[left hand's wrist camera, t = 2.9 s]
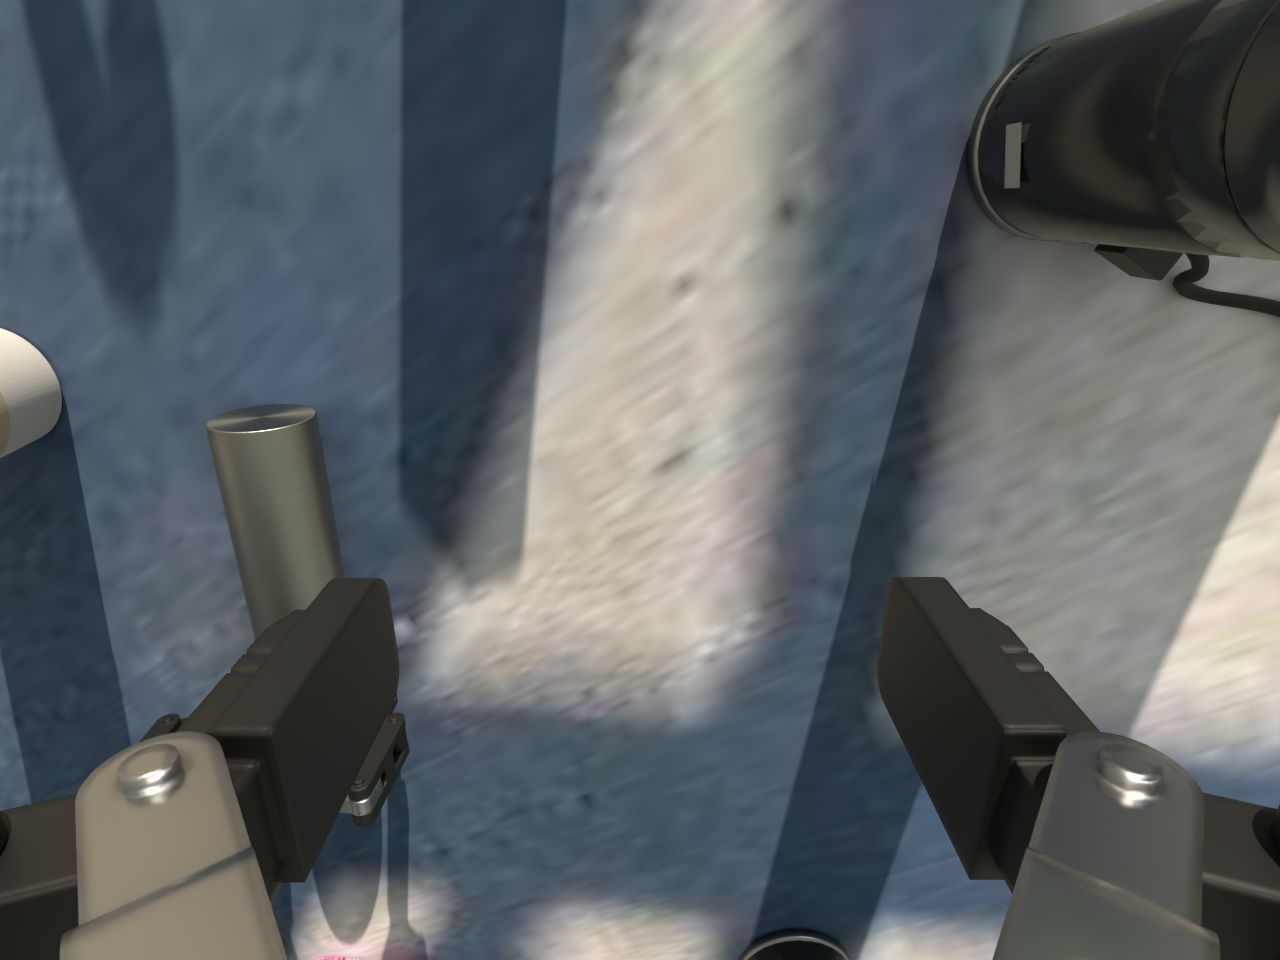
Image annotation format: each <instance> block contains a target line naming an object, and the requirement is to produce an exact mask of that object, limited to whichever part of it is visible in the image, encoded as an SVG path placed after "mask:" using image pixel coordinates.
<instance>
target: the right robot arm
mask: <svg viewBox="0 0 1280 960" xmlns="http://www.w3.org/2000/svg"><path fill="white" fill-rule="evenodd" d="M397 702H398V700H397V693H396V696H395V699H394V701H393V704H392V706H391V708H390V710H389V712H388V714H387V716H386V718H385V720H384V722H383V724H382V726H381V728H380V730H379V732H378V734H377V736H376V738H375V740H374V742H373V745H372V747H371V749H370V751H369V753H368V755H367V757H366V759H365V761H364V763H363V765H362V767H361V769H360V771H359V773H358V775H357V777H356V779H355V781H354V783H353V785H352V787H351V789H350V791H349V793H348V795H347V797H346V799H345V801H344V804H343V806H342V808H341V810H340V812H339V813H351V814H352V817H353V822H354V824H355V825H357V826H361V827H362V826H367V825H369V824H371V823H373V822H374V821H375V819H376V818H377V816H378V814H379V812H380V810H381V808H382V806H383V804H384V802H385V800H386V798H387V796H388V794H389V792H390V790H391V788H392V786H393V784H394V782H395V780H396V778H397V776H398V774H399V772H400V770H401V768H402V766H403V764H404V762H405V760H406V758H407V756H408V754H409V744H408V742H407V736H406V729H405V717H404V715H403V714H401V713H392V712H393V711H394V708H395V706H396V704H397ZM186 719H187V718H184V719H180V717H179V715H178V714H168V715H165V716H163V717H161V718H160V719H158V720H157V721H156V723H155V724H154V725H153V726H152V727H151V729H150V730H149V731H148V732H147V733H146V735H145V736H144V737H143V738H142V739H141V741H140V742H142V741H144V740H147V739H150V738H153V737H156V736H160V735H164V734H169V733H175V732H176V731H177V730H178V729H179V727H180V726H181V725H182V724H183V723H184V722H185V721H186ZM281 884H282V882H270V883H269V884H268V886H267V888H266V891H267V894H268V897H269V900H270V904H271V903H272V901H273V899H274V898H275V896H276V894H277V892H278V890H279V888H280V886H281ZM739 960H849V957H848V955H847V953H846V951H845V950H844V949H843V947H842V946H841V945H840V944H838V943H837V942H836V941H834V940H833V939H831V938H829V937H827V936H825V935H822V934H819V933H815V932H810V931H785V932H779V933H775V934H772V935H769V936H766V937H764V938H762V939H760V940H758V941H756V942H755V943H753V944H752V945H751V946H749V947H748V948H747V949H746V950H745V951H744V953H743V954H742V955H741V957H740V958H739Z"/></svg>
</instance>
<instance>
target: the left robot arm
mask: <svg viewBox="0 0 1280 960" xmlns="http://www.w3.org/2000/svg"><path fill="white" fill-rule="evenodd" d="M968 173H969V179H970V183H971V187H972V190H973V193H974V195H975V197H976V199H977V202H978V203H979V205H980V207H981V208H982V210H983V211H984V212H985V214H986V215H987V216H988V217H989V218H990V219H991V220H992V221H993V222H994V223H995V224H996V225H998V226H999V227H1000V228H1002V229H1004V230H1005V231H1007V232H1009V233H1011V234H1014V235H1016V236H1019V237H1022V238H1027V239H1034V240H1044V241H1060V240H1066V241H1073V242H1082V243H1086V244H1096V245H1097V247H1096V248H1095V249H1094V251H1095V252H1097V253H1098V254H1100V255H1101V256H1103V257H1104V258H1105V259H1107V260H1108V261H1110V262H1111V263H1113V264H1114V265H1116V266H1117V267H1118V268H1120V269H1121V270H1123V271H1124V272H1126V273H1127V274H1128V275H1130V276H1135V277H1141V278H1148V279H1154V280H1162V279H1163V278H1164V276H1165V275H1166V274H1167V273H1168V272H1169V270H1170V269H1171V268H1172V267H1173V265H1174V264H1175V263H1176V262H1177V261H1178V259H1179V258H1180V257H1181V256H1182V254H1183V253H1185V254H1186V255H1187V257H1188V258H1189V260H1190V262H1191V266H1192V268H1191V269H1189V270H1187V271H1184V272H1182V273H1180V274H1179V275H1177V276H1176V277H1175V278H1174V281H1173V286H1174V287H1175V288H1176V290H1177V291H1178V292H1179V294H1181V295H1183V296H1184V297H1186V298H1189V299H1193V300H1196V301H1200V302H1205V303H1210V304H1217V305H1223V306H1230V307H1237V308H1243V309H1249V310H1254V311H1259V312H1263V313H1268V314H1271V315H1274V316H1278V317H1280V302H1278V301H1274V300H1269V299H1265V298H1260V297H1253V296H1247V295H1241V294H1233V293H1227V292H1218V291H1214V290H1209V289H1205V288H1202V287H1198V286H1196V285H1194V284H1193V283H1194V282H1196V281H1198V280H1200V279H1201V278H1203V277H1204V276H1205V275H1206V274H1207V272H1208V269H1209V257H1208V255H1220V256H1230V257H1245V258H1256V259H1267V260H1277V261H1280V0H1164V1H1162V2H1159V3H1156V4H1154V5H1151V6H1148V7H1146V8H1143V9H1141V10H1138V11H1135V12H1133V13H1130V14H1127V15H1125V16H1122V17H1120V18H1117V19H1114V20H1112V21H1109V22H1106V23H1104V24H1101V25H1098V26H1096V27H1093V28H1091V29H1088V30H1086V31H1083V32H1080V33H1074V34H1070V35H1066V36H1064V37H1061V38H1058V39H1055V40H1053V41H1050V42H1047V43H1045V44H1043V45H1041V46H1039V47H1037V48H1035V49H1033V50H1031V51H1030V52H1028V53H1026V54H1025V55H1024V56H1022V57H1021V58H1019V59H1018V60H1017V61H1016V62H1014V63H1013V64H1012V65H1011V66H1010V67H1009V68H1008V69H1007V70H1006V71H1005V72H1004V73H1003V74H1002V75H1001V76H1000V77H999V79H998V80H997V81H996V82H995V83H994V85H993V86H992V88H991V89H990V90H989V92H988V94H987V95H986V97H985V98H984V100H983V102H982V104H981V106H980V108H979V110H978V113H977V115H976V118H975V120H974V123H973V127H972V130H971V134H970V139H969V146H968ZM877 675H878V684H879V689H880V693H881V696H882V699H883V702H884V704H885V706H886V708H887V710H888V712H889V714H890V716H891V718H892V720H893V722H894V724H895V726H896V729H897V731H898V733H899V735H900V737H901V739H902V741H903V743H904V745H905V747H906V749H907V751H908V753H909V755H910V757H911V759H912V761H913V764H914V766H915V768H916V770H917V772H918V774H919V776H920V778H921V780H922V782H923V784H924V786H925V788H926V790H927V792H928V794H929V797H930V799H931V801H932V803H933V805H934V807H935V809H936V811H937V813H938V815H939V817H940V819H941V821H942V823H943V825H944V827H945V829H946V832H947V834H948V836H949V838H950V840H951V842H952V844H953V846H954V848H955V850H956V852H957V854H958V856H959V858H960V860H961V862H962V864H963V867H964V869H965V871H966V873H967V875H968V877H969V879H970V880H1005V881H1006V883H1007V885H1008V887H1009V889H1010V891H1011V893H1012V897H1011V900H1010V904H1009V907H1008V910H1007V914H1006V917H1005V920H1004V924H1003V927H1002V930H1001V933H1000V937H999V940H998V943H997V947H996V950H995V953H994V956H993V960H1280V805H1279V807H1278V809H1274V808H1269V807H1265V806H1260V805H1256V804H1251V803H1247V802H1242V801H1238V800H1233V799H1229V798H1224V797H1220V796H1215V795H1211V794H1206V793H1202V791H1201V788H1200V787H1199V785H1198V784H1197V782H1196V781H1195V780H1194V779H1193V777H1192V776H1191V775H1190V774H1189V773H1188V772H1187V771H1186V770H1185V769H1184V768H1182V767H1181V766H1180V765H1179V764H1178V763H1176V762H1175V761H1173V760H1172V759H1171V758H1169V757H1168V756H1166V755H1164V754H1163V753H1161V752H1159V751H1158V750H1156V749H1154V748H1152V747H1150V746H1148V745H1146V744H1143V743H1141V742H1138V741H1136V740H1133V739H1130V738H1127V737H1124V736H1120V735H1116V734H1111V733H1104V732H1100V731H1099V730H1098V729H1097V728H1096V726H1095V725H1094V724H1093V723H1092V722H1091V721H1090V720H1089V718H1088V717H1087V716H1086V715H1085V714H1084V713H1083V711H1082V710H1081V709H1080V708H1079V707H1078V706H1077V705H1076V703H1075V702H1074V701H1073V700H1072V699H1071V698H1070V696H1069V695H1068V694H1067V693H1066V692H1065V691H1064V689H1063V688H1062V687H1061V686H1060V685H1059V684H1058V683H1057V681H1056V680H1055V679H1054V678H1053V677H1052V676H1051V674H1050V673H1049V672H1045V671H1044V666H1043V665H1042V664H1041V663H1040V662H1039V661H1038V659H1037V658H1036V657H1035V656H1034V655H1033V654H1032V653H1029V652H1028V648H1027V647H1026V646H1025V644H1024V643H1023V642H1022V641H1021V640H1020V639H1019V638H1018V636H1017V635H1016V634H1015V633H1014V632H1013V631H1012V629H1011V628H1010V627H1009V626H1007V625H1005V624H1004V623H1002V622H1001V621H999V620H998V619H996V618H994V617H993V616H991V615H990V614H988V613H986V612H985V611H983V610H982V609H980V608H969V607H968V606H967V604H966V603H965V602H964V601H963V600H962V598H961V597H960V596H959V595H958V593H957V592H956V591H955V590H954V588H953V587H952V586H951V585H950V583H949V582H948V581H947V580H946V579H945V578H943V577H895V578H893V579H892V580H891V582H890V584H889V587H888V592H887V598H886V605H885V612H884V619H883V626H882V633H881V639H880V646H879V653H878V661H877ZM398 681H399V659H398V652H397V645H396V638H395V632H394V625H393V618H392V611H391V604H390V598H389V592H388V588H387V585H386V583H385V581H384V580H383V579H381V578H334V579H332V580H330V581H329V582H328V583H327V584H326V586H325V587H324V588H323V589H322V590H321V592H320V593H319V594H318V595H317V597H316V598H315V599H314V600H313V601H312V603H311V604H310V605H309V606H308V608H307V609H306V610H294V611H293V612H291V613H290V614H288V615H286V616H285V617H283V618H282V619H280V620H279V621H277V622H275V623H274V624H272V625H271V626H269V627H267V628H266V629H265V630H264V631H263V632H262V634H261V635H260V636H259V637H258V638H257V639H256V640H255V642H254V643H253V644H252V645H251V646H250V647H249V648H248V650H247V654H246V655H242V656H241V658H240V659H239V660H238V661H237V662H236V663H235V664H234V666H233V667H232V668H231V673H227V674H226V675H225V676H224V677H223V678H222V679H221V681H220V682H219V683H218V684H217V685H216V686H215V687H214V689H213V690H212V691H211V692H210V693H209V694H208V695H207V697H206V698H205V699H204V700H203V701H202V702H201V703H200V705H199V706H198V707H197V708H196V709H195V710H194V711H193V713H192V714H191V715H190V716H189V717H188V718H187V719H186V721H185V722H184V723H183V724H182V725H181V726H180V727H179V729H178V730H177V731H176V732H175V733H169V734H164V735H160V736H156V737H153V738H150V739H147V740H144V741H142V742H139V743H137V744H134V745H132V746H130V747H128V748H126V749H124V750H122V751H121V752H119V753H117V754H116V755H114V756H112V757H111V758H109V759H108V760H107V761H105V762H104V763H102V764H101V765H100V766H99V767H98V768H96V769H95V770H94V771H93V772H92V773H91V774H90V775H89V776H88V777H87V779H86V780H85V781H84V782H83V784H82V785H81V787H80V788H79V791H78V793H77V794H73V795H69V796H65V797H61V798H56V799H52V800H47V801H43V802H38V803H34V804H29V805H25V806H20V807H16V808H11V809H7V810H2V811H0V960H287V956H286V953H285V950H284V947H283V943H282V940H281V937H280V933H279V930H278V927H277V924H276V920H275V917H274V914H273V910H272V907H271V904H270V900H269V897H268V894H267V891H266V888H267V886H268V884H269V883H270V882H305V881H306V879H307V877H308V875H309V873H310V871H311V869H312V867H313V865H314V863H315V860H316V858H317V856H318V854H319V852H320V850H321V848H322V846H323V844H324V842H325V840H326V838H327V836H328V834H329V832H330V830H331V828H332V826H333V824H334V822H335V820H336V818H337V816H338V814H339V812H340V810H341V808H342V806H343V804H344V801H345V799H346V797H347V795H348V793H349V791H350V789H351V787H352V785H353V783H354V781H355V779H356V777H357V775H358V773H359V771H360V769H361V767H362V765H363V763H364V761H365V759H366V757H367V755H368V753H369V751H370V749H371V747H372V745H373V742H374V740H375V738H376V736H377V734H378V732H379V730H380V728H381V726H382V724H383V722H384V720H385V718H386V716H387V714H388V712H389V710H390V708H391V706H392V704H393V701H394V699H395V696H396V692H397V687H398Z"/></svg>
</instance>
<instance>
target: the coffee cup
mask: <svg viewBox="0 0 1280 960" xmlns="http://www.w3.org/2000/svg"><path fill="white" fill-rule="evenodd" d="M61 408H62V395H61V389H60V386H59V382H58V380H57V377H56V375H55V373H54V371H53V369H52V368H51V366H50V364H49V363H48V362H47V360H46V359H45V358H44V357H43V355H42V354H41V353H40V352H39V351H38V350H37V349H36V348H35V347H34V346H32V345H31V344H30V343H29V342H27V341H26V340H24V339H23V338H21V337H20V336H18V335H16V334H14V333H12V332H9V331H7V330H4V329H1V328H0V458H2V457H4V456H6V455H8V454H10V453H12V452H14V451H16V450H18V449H20V448H21V447H23V446H25V445H27V444H29V443H31V442H33V441H35V440H37V439H39V438H41V437H43V436H44V435H46V434H47V433H48V432H50V431H51V430H52V428H53V427H54V426H55V424H56V423H57V421H58V419H59V416H60V413H61Z"/></svg>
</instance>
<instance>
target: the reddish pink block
mask: <svg viewBox="0 0 1280 960" xmlns="http://www.w3.org/2000/svg"><path fill="white" fill-rule="evenodd" d="M315 960H363V959H354V958H343V957H321V958H317V959H315Z"/></svg>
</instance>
